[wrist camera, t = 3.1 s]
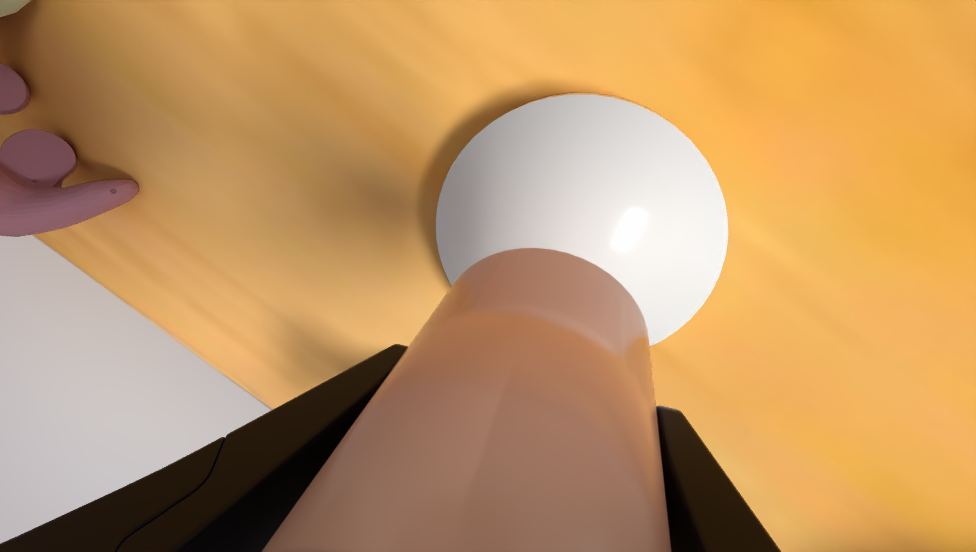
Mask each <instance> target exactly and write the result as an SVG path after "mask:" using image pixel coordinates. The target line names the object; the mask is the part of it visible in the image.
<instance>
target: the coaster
mask: <svg viewBox="0 0 976 552" xmlns="http://www.w3.org/2000/svg"><path fill="white" fill-rule="evenodd" d="M436 238H437V246H438V251H439V255H440V260H441V262H442V265H443V268H444V271H445V274H446V276H447V278H448V280H449V282H450V284H451V286H452V285H453V284H454V283H455V281H456V280H457V279H458V278H459V277H460V275H461V274H462V273H463V272H464V271H466V270H467V269H468V268H469V267H470V266H472V265H473V264H475V263H476V262H478V261H480V260H481V259H483V258H486V257H488V256H490V255H493V254H495V253H499V252H502V251H506V250H512V249H519V248H542V249H552V250H556V251H561V252H565V253H569V254H571V255H574V256H577V257H580V258H583V259H585V260H587V261H589V262H591V263H593V264H595V265H597V266H598V267H600V268H601V269H603V270H604V271H606V272H607V273H609V274H610V275H611V276H613V277H614V278H615V279H616V280H617V281H618V282H620V283H621V284H622V285H623V287H624V288H625V289H626V290H627V291H628V292H629V293H630V294H631V296H632V297H633V299H634V300H635V302H636V303H637V305H638V306H639V308H640V310H641V312H642V314H643V317H644V319H645V323H646V326H647V329H648V336H649V345H650V346H652V345H654V344H656V343H658V342H660V341H662V340H663V339H665V338H667V337H668V336H670V335H671V334H673V333H674V332H676V331H677V330H678V329H679V328H680V327H682V326H683V325H684V324H685V323H686V322H687V321H689V320H690V319H691V318H692V317H693V315H694V314H695V313H696V312H697V311H698V310H699V309H700V308H701V307H702V305H703V304H704V302H705V301H706V299H707V298H708V296H709V295H710V293H711V292H712V290H713V288H714V286H715V284H716V282H717V280H718V278H719V275H720V273H721V269H722V266H723V263H724V260H725V256H726V249H727V242H728V217H727V212H726V206H725V201H724V197H723V194H722V191H721V189H720V186H719V183H718V180H717V178H716V176H715V174H714V173H713V171H712V169H711V167H710V166H709V164H708V162H707V160H706V159H705V158H704V156H703V155H702V154H701V153H700V151H699V150H698V149H697V148H696V146H695V145H694V144H693V143H692V142H691V140H690V139H689V138H688V137H687V136H686V135H685V134H684V133H683V132H682V131H681V130H680V129H678V128H677V127H676V126H675V125H674V124H673V123H672V122H670V121H669V120H667V119H666V118H664V117H663V116H661V115H660V114H658V113H657V112H655V111H653V110H651V109H649V108H647V107H645V106H642V105H640V104H638V103H636V102H633V101H630V100H626V99H623V98H620V97H616V96H611V95H604V94H598V93H567V94H560V95H553V96H549V97H545V98H542V99H538V100H535V101H531V102H529V103H527V104H525V105H522V106H520V107H518V108H515V109H513V110H511V111H510V112H508V113H506V114H504V115H503V116H501V117H499V118H498V119H496V120H495V121H493V122H491V123H490V124H489V125H487V126H486V127H485V128H484V129H483V130H481V131H480V132H479V133H478V134H477V135H475V136H474V137H473V138H472V140H471V141H470V142H469V143H468V144H467V145H466V146H465V147H464V148H463V150H462V151H461V152H460V154H459V155H458V157H457V158H456V160H455V161H454V163H453V164H452V166H451V168H450V170H449V172H448V174H447V176H446V178H445V180H444V183H443V186H442V189H441V193H440V196H439V201H438V206H437V212H436Z"/></svg>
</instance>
